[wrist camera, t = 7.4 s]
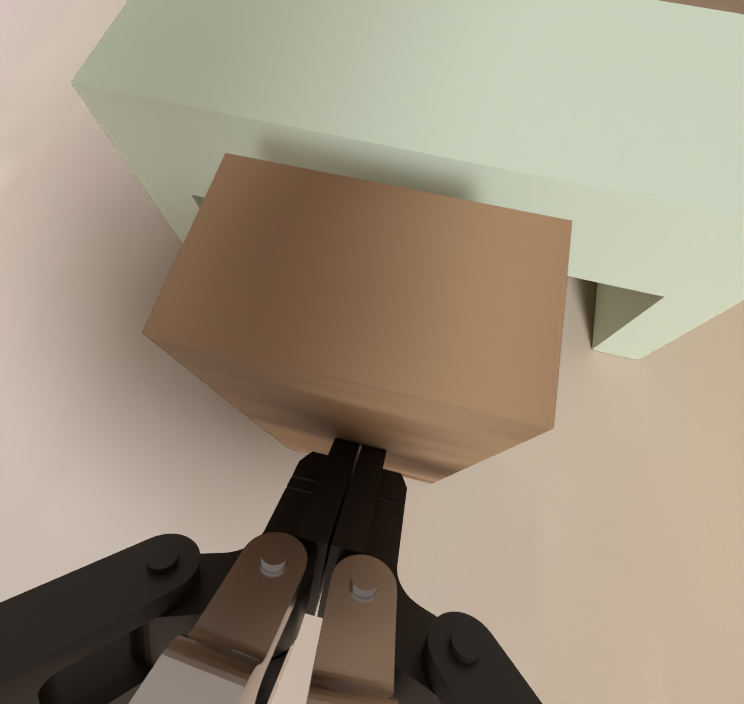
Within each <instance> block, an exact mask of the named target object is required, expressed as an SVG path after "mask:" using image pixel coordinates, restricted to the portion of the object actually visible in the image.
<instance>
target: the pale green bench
mask: <svg viewBox="0 0 744 704" xmlns="http://www.w3.org/2000/svg"><path fill="white" fill-rule="evenodd" d="M71 84H72V85H73V87H74V88H75V90H76V91H77V93H78V94H79V95H80V97H81V98H82V100H83V101H84V103H85V104H86V105H87V107H88V108H89V110H90V111H91V113H92V114H93V116H94V117H95V118H96V120H97V121H98V123H99V124H100V126H101V127H102V129H103V130H104V131H105V133H106V134H107V136H108V137H109V139H110V140H111V141H112V143H113V144H114V146H115V147H116V149H117V150H118V152H119V153H120V154H121V156H122V157H123V159H124V160H125V162H126V163H127V164H128V166H129V167H130V169H131V170H132V172H133V173H134V175H135V176H136V177H137V179H138V180H139V182H140V183H141V185H142V186H143V187H144V189H145V190H146V192H147V193H148V195H149V196H150V198H151V199H152V200H153V202H154V203H155V205H156V206H157V208H158V209H159V211H160V212H161V213H162V215H163V216H164V218H165V219H166V221H167V222H168V223H169V225H170V226H171V228H172V229H173V231H174V232H175V234H176V235H177V236H178V238H179V239H180V241H181V242H182V244H183V243H184V241H185V239H186V237H187V234H188V232H189V230H190V228H191V226H192V224H193V221H194V219H195V217H196V215H197V213H198V211H199V208H200V206H201V204H202V202H203V200H204V198H205V196H206V193H207V191H208V189H209V187H210V185H211V183H212V180H213V178H214V176H215V174H216V172H217V170H218V167H219V165H220V163H221V161H222V159H223V157H224V155H225V153H229V154H234V155H239V156H244V157H250V158H255V159H260V160H265V161H270V162H275V163H280V164H285V165H290V166H296V167H301V168H306V169H311V170H316V171H321V172H326V173H331V174H336V175H342V176H347V177H352V178H357V179H362V180H367V181H372V182H377V183H382V184H388V185H393V186H398V187H403V188H408V189H413V190H418V191H423V192H428V193H434V194H439V195H444V196H449V197H454V198H459V199H464V200H469V201H474V202H480V203H485V204H490V205H495V206H500V207H505V208H510V209H515V210H520V211H526V212H531V213H536V214H541V215H546V216H551V217H556V218H561V219H566V220H572V231H571V242H570V253H569V264H568V275H567V276H570V277H575V278H579V279H584V280H589V281H593V282H597V292H596V305H595V318H594V331H593V344H592V350H596V351H601V352H605V353H609V354H614V355H618V356H623V357H627V358H631V359H636V360H639V359H640V358H642V357H644V356H646V355H648V354H649V353H651V352H653V351H655V350H656V349H658V348H660V347H662V346H663V345H665V344H667V343H669V342H671V341H672V340H674V339H676V338H678V337H679V336H681V335H683V334H685V333H687V332H688V331H690V330H692V329H694V328H695V327H697V326H699V325H701V324H702V323H704V322H706V321H708V320H710V319H711V318H713V317H715V316H717V315H718V314H720V313H722V312H724V311H726V310H727V309H729V308H731V307H733V306H734V305H736V304H738V303H740V302H741V301H743V300H744V14H739V13H733V12H727V11H720V10H714V9H708V8H702V7H696V6H690V5H684V4H677V3H671V2H665V1H659V0H128V1H127V3H126V4H125V6H124V7H123V8H122V10H121V11H120V13H119V14H118V16H117V17H116V18H115V20H114V21H113V23H112V24H111V26H110V27H109V29H108V30H107V31H106V33H105V34H104V36H103V37H102V39H101V40H100V42H99V43H98V44H97V46H96V47H95V49H94V50H93V52H92V53H91V54H90V56H89V57H88V59H87V60H86V62H85V63H84V65H83V66H82V67H81V69H80V70H79V72H78V73H77V75H76V76H75V78H74V79H73V80H72V82H71Z"/></svg>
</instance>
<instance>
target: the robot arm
mask: <svg viewBox="0 0 744 704" xmlns="http://www.w3.org/2000/svg"><path fill="white" fill-rule="evenodd" d="M359 448H360V444H358V443H354V442H349V441H345V440H341V439H337V438H335V439H334V442H333V444H332V446H331V449H330V451H329V454H328V455H326V454H322V453H318V452H314V451H312V452H311V453H309V454H308V455H307V456H305V457H304V458H303V459H301V460H300V461H299V463H298V465H297V467H296V469H295V471H294V473H293V476H292V477H291V479H290V481H289V483H288V485H287V488H286V489H285V491H284V493H283V495H282V497H281V499H280V501H279V503H278V505H277V507H276V509H275V511H274V513H273V515H272V517H271V519H270V521H269V523H268V525H267V527H266V529H265V530H264V532H263V534H262V535H260V536H258V537H256V538H254V539H253V540H251V541H250V542H249V543H248V544H247V545H246V547H245V548H244V549H241V550H238V551H234V552H228V553H206V554H200V551H199V548H198V546H197V545H196V543H195V542H194V541H193V540H191V539H190V538H188V537H186V536H183V535H179V534H163V535H159V536H155V537H152V538H150V539H148V540H145V541H143V542H141V543H138V544H136V545H134V546H131V547H129V548H127V549H124V550H122V551H120V552H117V553H115V554H113V555H110V556H108V557H106V558H103V559H101V560H99V561H96V562H94V563H92V564H89V565H87V566H85V567H82V568H80V569H78V570H75V571H73V572H71V573H68V574H66V575H64V576H61V577H59V578H57V579H54V580H52V581H50V582H47V583H45V584H43V585H40V586H38V587H36V588H33V589H31V590H29V591H26V592H24V593H22V594H19V595H17V596H15V597H12V598H10V599H8V600H5V601H3V602H1V603H0V704H271V702H272V700H273V697H274V695H275V692H276V690H277V687H278V685H279V682H280V680H281V677H282V675H283V672H284V670H285V667H286V665H287V662H288V660H289V657H290V655H291V652H292V649H293V646H294V642H295V640H296V638H297V636H298V633H299V630H300V627H301V624H302V621H303V618H304V614H305V613H306V614H310V615H313V616H315V612H316V609H317V606H318V602H319V599H320V595H321V592H322V595H321V600H320V605H319V610H318V616H317V617H321V618H323V621H322V626H321V631H320V636H319V641H318V646H317V651H316V656H315V661H314V666H313V671H312V676H311V681H310V686H309V692H308V697H307V702H306V704H542V703H541V701H540V700H539V698H538V697H537V696H536V694H535V693H534V692H533V690H532V689H531V687H530V686H529V685H528V683H527V682H526V681H525V679H524V678H523V676H522V675H521V674H520V672H519V671H518V670H517V668H516V667H515V665H514V664H513V663H512V661H511V660H510V658H509V657H508V656H507V654H506V653H505V652H504V650H503V649H502V647H501V646H500V645H499V643H498V642H497V641H496V639H495V638H494V636H493V635H492V634H491V632H490V631H489V630H488V629H487V628H486V627H485V626H484V625H483V624H482V623H481V622H480V621H478V620H477V619H475V618H474V617H472V616H470V615H467V614H465V613H461V612H447V613H444V614H442V615H440V616H438V617H436V616H435V615H433V614H432V613H430V612H429V611H427V610H425V609H424V608H422V607H421V606H419V605H418V604H416V603H415V602H414V601H413V600H412V599H411V598H410V597H409V596H408V595H407V594H406V593H405V591H404V589H403V588H402V586H401V584H400V582H399V579H398V574H397V563H398V555H399V547H400V539H401V531H402V523H403V515H404V507H405V506H404V505H405V499H406V491H407V487H406V484H405V482H404V479H403V477H402V474H401V473H398V472H394V471H390V470H386V469H383V466H384V461H385V456H386V452H387V451H386V450H382V449H378V448H374V447H370V446H366V445H362V446H361V449H360V452H359ZM358 453H359V456H358ZM357 458H358V459H357Z"/></svg>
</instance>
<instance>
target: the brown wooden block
mask: <svg viewBox="0 0 744 704" xmlns="http://www.w3.org/2000/svg"><path fill="white" fill-rule="evenodd" d="M571 231H572V220H566V219H561V218H556V217H551V216H546V215H541V214H536V213H531V212H526V211H520V210H515V209H510V208H505V207H500V206H495V205H490V204H485V203H480V202H474V201H469V200H464V199H459V198H454V197H449V196H444V195H439V194H434V193H428V192H423V191H418V190H413V189H408V188H403V187H398V186H393V185H388V184H382V183H377V182H372V181H367V180H362V179H357V178H352V177H347V176H342V175H336V174H331V173H326V172H321V171H316V170H311V169H306V168H301V167H296V166H290V165H285V164H280V163H275V162H270V161H265V160H260V159H255V158H250V157H244V156H239V155H234V154H229V153H225V155H224V157H223V159H222V161H221V163H220V165H219V167H218V170H217V172H216V174H215V176H214V178H213V180H212V183H211V185H210V187H209V189H208V191H207V193H206V196H205V198H204V200H203V202H202V204H201V206H200V208H199V211H198V213H197V215H196V217H195V219H194V221H193V224H192V226H191V228H190V230H189V232H188V234H187V237H186V239H185V241H184V243H183V245H182V247H181V249H180V252H179V254H178V256H177V258H176V260H175V262H174V265H173V267H172V269H171V271H170V273H169V275H168V277H167V280H166V282H165V284H164V286H163V288H162V290H161V293H160V295H159V297H158V299H157V301H156V303H155V306H154V308H153V310H152V312H151V314H150V316H149V318H148V321H147V323H146V325H145V327H144V329H143V331H142V333H143V334H144V335H145V336H147V337H148V338H149V339H150V340H152V341H153V342H154V343H156V344H157V345H158V346H159V347H161V348H162V349H163V350H164V351H166V352H167V353H168V354H169V355H171V356H172V357H173V358H175V359H176V360H177V361H178V362H180V363H181V364H182V365H183V366H185V367H186V368H187V369H188V370H190V371H191V372H192V373H194V374H195V375H196V376H197V377H199V378H200V379H201V380H202V381H204V382H205V383H206V384H207V385H209V386H210V387H211V388H212V389H214V390H215V391H216V392H218V393H219V394H220V395H221V396H223V397H224V398H225V399H226V400H228V401H229V402H230V403H231V404H233V405H234V406H235V407H237V408H238V409H239V410H240V411H242V412H243V413H244V414H245V415H247V416H248V417H249V418H250V419H252V420H253V421H254V422H256V423H257V424H258V425H259V426H261V427H262V428H263V429H264V430H266V431H267V432H268V433H269V434H271V435H272V436H273V437H275V438H276V439H277V440H278V441H280V442H281V443H282V444H283V445H285V446H286V447H287V448H291V449H295V450H299V451H303V452H307V453H311V452H312V451H314V452H318V453H322V454H326V455H328V454H329V451H330V449H331V446H332V444H333V442H334V439H335V438H337V439H341V440H345V441H349V442H354V443H358V444H360V448H359V452H360V449H361V446H362V445H366V446H370V447H374V448H378V449H382V450H386V451H387V452H386V456H385V461H384V466H383V469H386V470H390V471H394V472H398V473H401V474H402V476H404V477H408V478H412V479H416V480H420V481H424V482H428V483H434V482H436V481H438V480H441V479H443V478H445V477H447V476H449V475H452V474H454V473H456V472H458V471H461V470H463V469H465V468H467V467H469V466H472V465H474V464H476V463H478V462H480V461H483V460H485V459H487V458H489V457H491V456H494V455H496V454H498V453H500V452H503V451H505V450H507V449H509V448H511V447H514V446H516V445H518V444H520V443H522V442H525V441H527V440H529V439H531V438H534V437H536V436H538V435H540V434H542V433H545V432H547V431H549V430H551V429H553V428H554V419H555V408H556V397H557V386H558V375H559V364H560V353H561V342H562V331H563V320H564V309H565V298H566V286H567V275H568V264H569V253H570V242H571ZM358 456H359V453H358ZM357 459H358V458H357Z"/></svg>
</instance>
